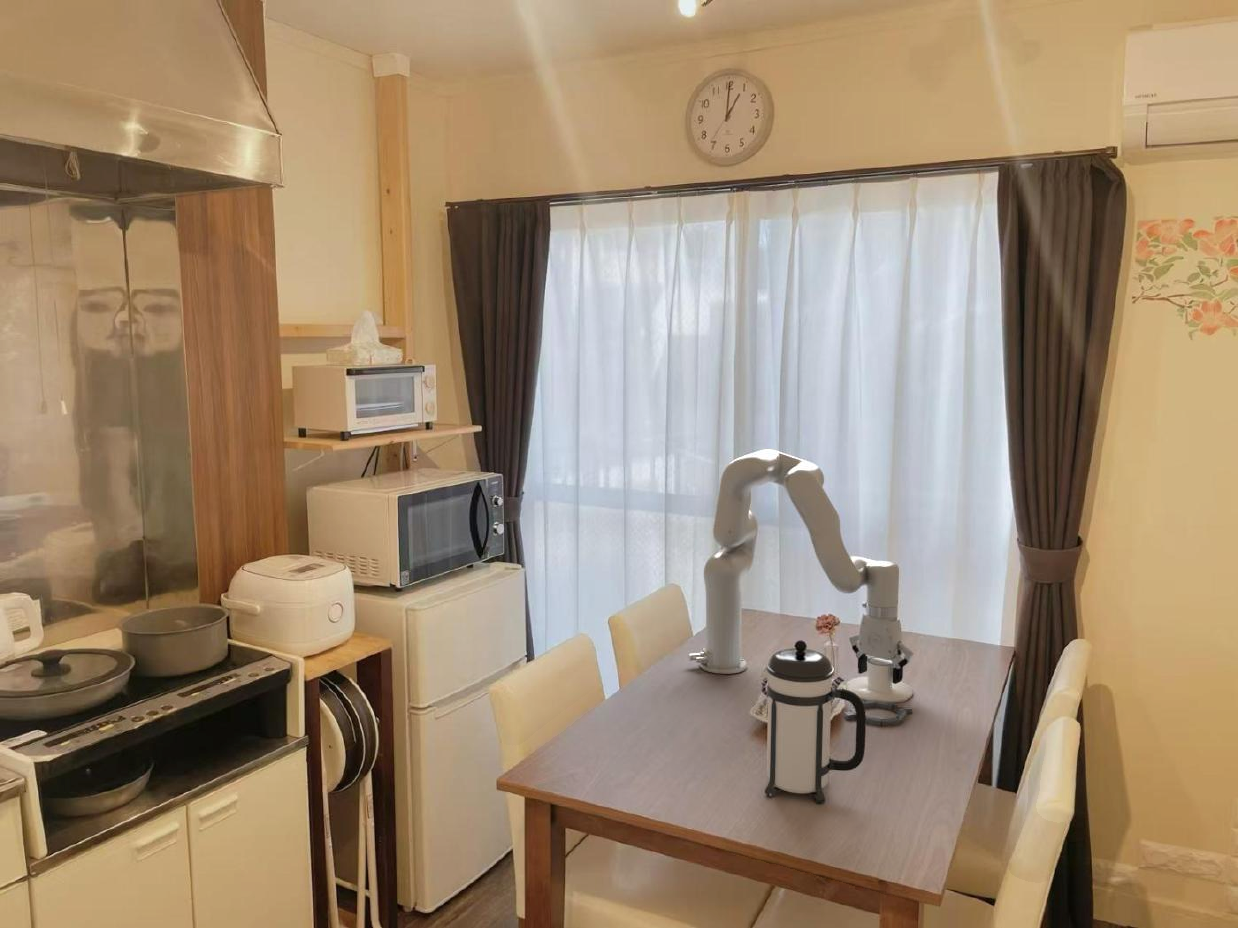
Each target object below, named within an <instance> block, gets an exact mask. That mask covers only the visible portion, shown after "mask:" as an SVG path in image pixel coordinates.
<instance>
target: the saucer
mask: <svg viewBox="0 0 1238 928" xmlns="http://www.w3.org/2000/svg"><path fill="white" fill-rule="evenodd" d="M846 684H847V685H848V687H849V691H851V692H853V693H855V694H856V695H858V696H859V698H860V699H861V700H862V701H871V700H875V701H876V700H878V701H883V702H888V703H893V704H895V703H896V704H897V703H902V702H905V701H909V699H911V698H912V697H913V688H912V687H911V685H909V684H908V683H905V682H904V681H901V682H899V683H897V684H893V681H892V688H891V690H890V691H888V692H877V691H873V690H871V689H869V687H868V675H867V676H858V677H855V678H851V679H849V680H848V681H847V683H846Z"/></svg>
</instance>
